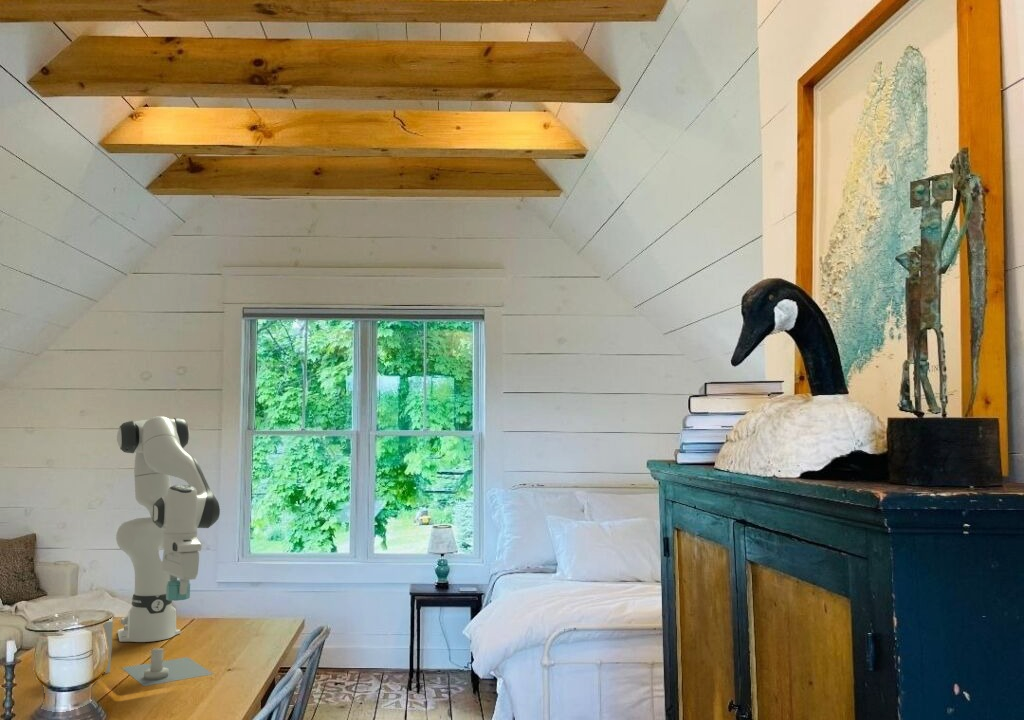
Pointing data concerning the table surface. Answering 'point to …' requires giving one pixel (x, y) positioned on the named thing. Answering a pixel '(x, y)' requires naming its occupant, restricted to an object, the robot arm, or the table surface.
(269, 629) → the table surface
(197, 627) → the table surface
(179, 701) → the table surface
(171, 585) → the cap
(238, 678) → the table surface
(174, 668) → the post board
